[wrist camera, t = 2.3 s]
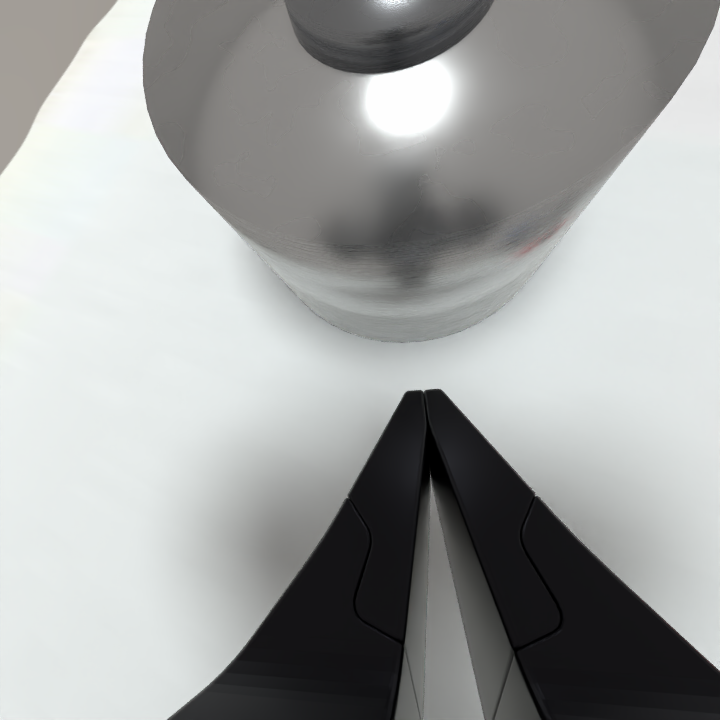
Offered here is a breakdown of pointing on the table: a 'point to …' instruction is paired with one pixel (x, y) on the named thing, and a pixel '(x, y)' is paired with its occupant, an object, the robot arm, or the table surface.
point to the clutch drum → (410, 136)
